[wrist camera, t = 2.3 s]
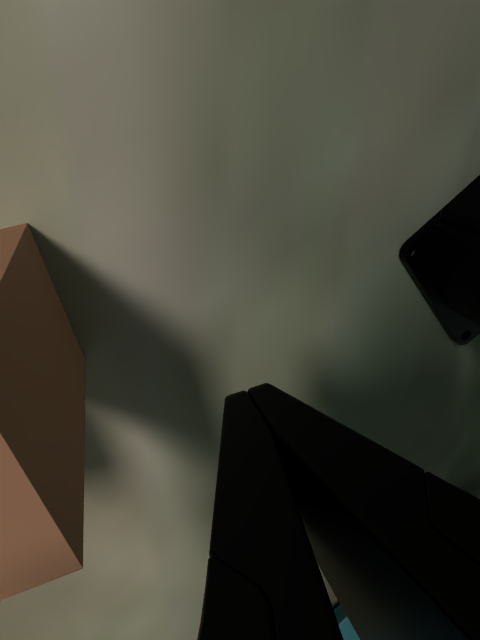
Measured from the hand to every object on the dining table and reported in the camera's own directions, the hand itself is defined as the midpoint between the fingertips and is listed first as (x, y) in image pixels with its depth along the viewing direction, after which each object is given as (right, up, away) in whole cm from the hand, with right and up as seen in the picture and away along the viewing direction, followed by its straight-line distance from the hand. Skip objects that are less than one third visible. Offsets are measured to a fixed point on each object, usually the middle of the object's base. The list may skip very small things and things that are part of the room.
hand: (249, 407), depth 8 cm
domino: (-7, +2, +6) cm, 9 cm away
